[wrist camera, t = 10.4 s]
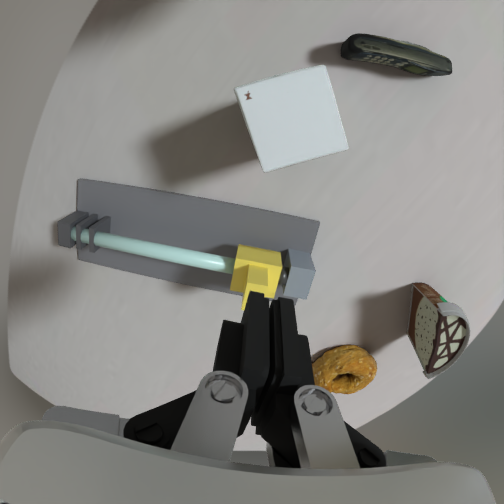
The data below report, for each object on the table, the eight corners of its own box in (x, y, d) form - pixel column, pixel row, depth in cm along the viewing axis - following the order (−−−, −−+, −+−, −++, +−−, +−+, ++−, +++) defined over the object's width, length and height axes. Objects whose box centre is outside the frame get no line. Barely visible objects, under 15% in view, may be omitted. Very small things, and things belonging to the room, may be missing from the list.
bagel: (309, 345, 45) (313, 366, 41) (376, 336, 45) (385, 356, 40) (307, 386, 49) (310, 407, 45) (368, 378, 49) (374, 398, 44)
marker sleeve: (238, 244, 36) (232, 275, 29) (280, 252, 37) (284, 285, 29) (233, 273, 38) (225, 310, 31) (272, 281, 38) (274, 319, 31)
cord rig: (80, 178, 36) (57, 187, 31) (319, 221, 38) (327, 237, 32) (80, 257, 41) (61, 274, 36) (295, 303, 42) (298, 327, 37)
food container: (436, 332, 44) (461, 370, 35) (405, 339, 45) (427, 381, 36) (447, 267, 39) (481, 301, 30) (412, 274, 40) (444, 312, 31)
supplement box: (261, 158, 35) (260, 175, 23) (242, 99, 32) (230, 85, 21) (322, 142, 34) (351, 151, 22) (304, 82, 31) (325, 61, 19)
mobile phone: (349, 53, 26) (467, 79, 25) (348, 28, 24) (465, 57, 23) (339, 62, 30) (447, 82, 29) (338, 39, 29) (446, 62, 28)
